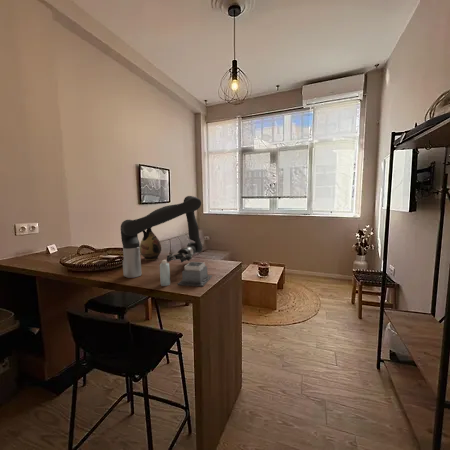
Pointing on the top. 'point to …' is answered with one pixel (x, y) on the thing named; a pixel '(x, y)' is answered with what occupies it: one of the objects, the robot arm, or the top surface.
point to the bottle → (164, 273)
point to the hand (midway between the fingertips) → (174, 260)
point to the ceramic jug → (150, 245)
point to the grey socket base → (195, 274)
